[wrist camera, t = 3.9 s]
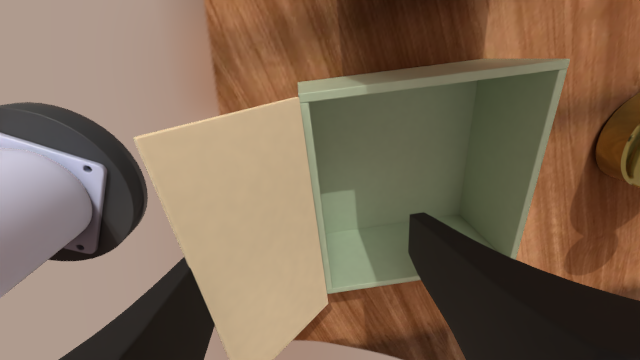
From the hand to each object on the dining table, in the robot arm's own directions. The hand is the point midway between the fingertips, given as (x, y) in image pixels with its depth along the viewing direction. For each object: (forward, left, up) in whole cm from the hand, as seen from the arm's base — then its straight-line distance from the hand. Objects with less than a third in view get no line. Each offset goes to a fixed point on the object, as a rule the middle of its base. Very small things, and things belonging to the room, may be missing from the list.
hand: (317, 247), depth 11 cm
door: (-2, -1, 0) cm, 2 cm away
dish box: (+5, +3, -9) cm, 10 cm away
